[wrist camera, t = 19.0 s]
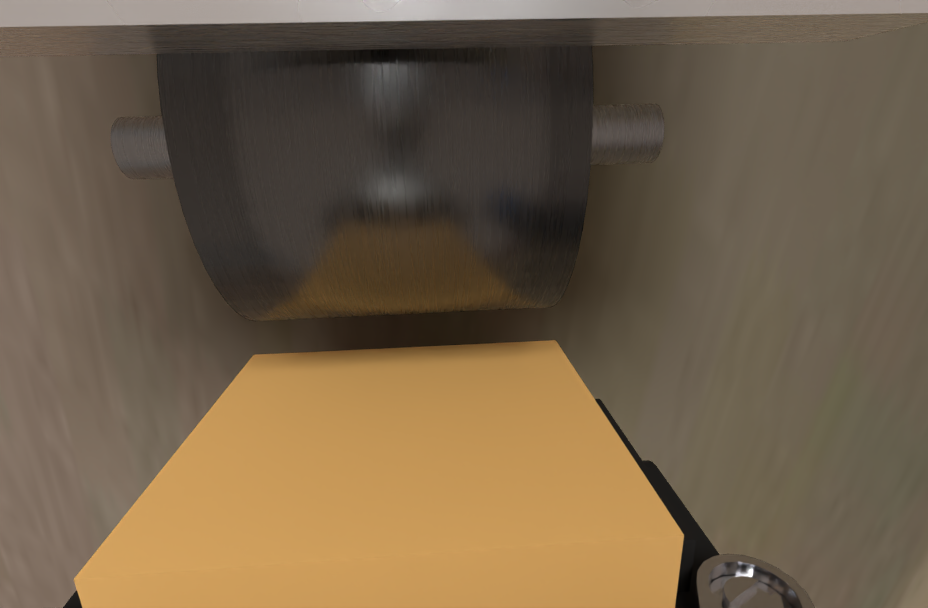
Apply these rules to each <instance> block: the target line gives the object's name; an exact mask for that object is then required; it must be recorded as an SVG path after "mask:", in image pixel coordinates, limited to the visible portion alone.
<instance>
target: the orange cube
mask: <svg viewBox="0 0 928 608" xmlns="http://www.w3.org/2000/svg"><path fill="white" fill-rule="evenodd" d="M683 540H684V534H683V533H682V531H681V530H680V528H679V527H678V525H677V523H676V522H675V520H674V519H673V517H672V516H671V514H670V513H669V511H668V510H667V508H666V507H665V505H664V504H663V502H662V501H661V499H660V498H659V496H658V495H657V493H656V492H655V490H654V489H653V487H652V486H651V484H650V483H649V481H648V480H647V478H646V476H645V475H644V473H643V472H642V470H641V469H640V467H639V466H638V464H637V463H636V461H635V460H634V458H633V457H632V455H631V454H630V452H629V451H628V449H627V448H626V446H625V445H624V443H623V442H622V440H621V439H620V437H619V436H618V434H617V433H616V431H615V429H614V428H613V426H612V425H611V423H610V422H609V420H608V419H607V417H606V416H605V414H604V413H603V411H602V410H601V408H600V407H599V405H598V404H597V402H596V401H595V399H594V398H593V396H592V395H591V393H590V392H589V390H588V389H587V387H586V386H585V384H584V382H583V381H582V379H581V378H580V376H579V375H578V373H577V372H576V370H575V369H574V367H573V366H572V364H571V363H570V361H569V360H568V358H567V357H566V355H565V354H564V352H563V351H562V349H561V348H560V346H559V345H558V343H557V342H556V340H550V341H529V342H508V343H487V344H466V345H446V346H425V347H404V348H383V349H362V350H341V351H320V352H300V353H279V354H258V355H253V356H252V357H251V359H250V360H249V361H248V362H247V364H246V365H245V366H244V367H243V369H242V370H241V371H240V372H239V374H238V375H237V376H236V377H235V379H234V380H233V381H232V382H231V384H230V385H229V386H228V387H227V389H226V390H225V391H224V392H223V394H222V395H221V396H220V397H219V399H218V400H217V401H216V402H215V404H214V405H213V406H212V407H211V409H210V410H209V411H208V412H207V414H206V415H205V416H204V417H203V419H202V420H201V421H200V422H199V424H198V425H197V426H196V427H195V429H194V430H193V431H192V432H191V434H190V435H189V436H188V437H187V439H186V440H185V441H184V442H183V444H182V445H181V446H180V447H179V449H178V450H177V451H176V452H175V454H174V455H173V456H172V457H171V459H170V460H169V461H168V462H167V464H166V465H165V466H164V467H163V469H162V470H161V471H160V472H159V473H158V475H157V476H156V477H155V478H154V480H153V481H152V482H151V483H150V485H149V486H148V487H147V488H146V490H145V491H144V492H143V493H142V495H141V496H140V497H139V498H138V500H137V501H136V502H135V503H134V505H133V506H132V507H131V508H130V510H129V511H128V512H127V513H126V515H125V516H124V517H123V518H122V520H121V521H120V522H119V523H118V525H117V526H116V527H115V528H114V530H113V531H112V532H111V533H110V535H109V536H108V537H107V538H106V540H105V541H104V542H103V543H102V545H101V546H100V547H99V548H98V550H97V551H96V552H95V553H94V555H93V556H92V557H91V558H90V560H89V561H88V562H87V563H86V565H85V566H84V567H83V568H82V570H81V571H80V572H79V573H78V575H77V576H76V577H75V578H74V582H75V585H76V588H77V592H78V595H79V598H80V601H81V605H82V608H675V603H676V595H677V587H678V579H679V571H680V563H681V556H682V548H683Z"/></svg>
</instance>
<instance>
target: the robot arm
mask: <svg viewBox="0 0 928 608" xmlns="http://www.w3.org/2000/svg"><path fill="white" fill-rule="evenodd" d="M595 401H596V402H597V404H598V405H599V407H600V408H601V410H602V411H603V413H604V414H605V416H606V417H607V419H608V420H609V422H610V423H611V425H612V426H613V428H614V429H615V431H616V433H617V434H618V436H619V437H620V439H621V440H622V442H623V443H624V445H625V446H626V448H627V449H628V451H629V452H630V454H631V455H632V457H633V458H634V460H635V461H636V463H637V464H638V466H639V467H640V469H641V470H642V472H643V473H644V475H645V476H646V478H647V480H648V481H649V483H650V484H651V486H652V487H653V489H654V490H655V492H656V493H657V495H658V496H659V498H660V499H661V501H662V502H663V504H664V505H665V507H666V508H667V510H668V511H669V513H670V514H671V516H672V517H673V519H674V520H675V522H676V523H677V525H678V527H679V528H680V530H681V531H682V533H683V534H684V540H683V548H682V556H681V563H680V571H679V579H678V587H677V595H676V603H675V608H815V606H814V604H813V603H812V601H811V599H810V597H809V596H808V594H807V592H806V591H805V590H804V589H803V588H802V587H801V586H800V585H799V584H798V583H797V582H796V581H795V580H794V579H793V578H792V577H790V576H789V575H787V574H786V573H784V572H783V571H782V570H780V569H779V568H777V567H775V566H773V565H771V564H768V563H766V562H764V561H762V560H759V559H756V558H752V557H749V556H745V555H737V554H723V555H719V553H718V552H717V551H716V549H715V548H714V546H713V545H712V544H711V542H710V541H709V539H708V538H707V537H706V535H705V534H704V532H703V531H702V529H701V528H700V527H699V525H698V524H697V522H696V521H695V520H694V518H693V517H692V515H691V514H690V513H689V511H688V510H687V508H686V507H685V506H684V504H683V503H682V501H681V500H680V499H679V497H678V496H677V494H676V493H675V492H674V490H673V489H672V487H671V486H670V485H669V483H668V482H667V480H666V479H665V478H664V476H663V475H662V473H661V472H660V471H659V469H658V468H657V466H656V465H655V464H654V463H653V462H651V461H642V460H641V458H640V457H639V455H638V454H637V452H636V451H635V449H634V448H633V447H632V445H631V444H630V442H629V441H628V439H627V438H626V436H625V435H624V433H623V432H622V430H621V429H620V427H619V426H618V425H617V423H616V422H615V420H614V419H613V417H612V416H611V414H610V413H609V411H608V410H607V408H606V407H605V405H604V404H603V403H602V401H601V400H600V399H595ZM63 608H82V605H81V601H80V598H79V595H78V592H77V590H76V592H75V593H74V594H73V596H72V597H71V598H70V599H69V601H68V602H67V603H66V605H65V606H64V607H63Z"/></svg>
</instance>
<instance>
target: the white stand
mask: <svg viewBox="0 0 928 608" xmlns="http://www.w3.org/2000/svg"><path fill="white" fill-rule="evenodd" d="M927 22H928V0H0V57H7V56H62V55H117V54H157V73H158V85H159V95H160V105H161V114H162V116H148V117H120V118H117V119H116V120H115V121H114V123H113V125H112V129H111V146H112V151H113V154H114V157H115V160H116V162H117V164H118V166H119V168H120V169H121V171H122V172H123V173H124V174H125V175H126V176H127V177H129V178H131V179H157V178H174V182H175V186H176V189H177V193H178V196H179V199H180V203H181V206H182V210H183V213H184V217H185V219H186V222H187V225H188V228H189V231H190V233H191V236H192V239H193V242H194V244H195V247H196V249H197V251H198V253H199V256H200V258H201V260H202V262H203V265H204V267H205V269H206V271H207V272H208V274H209V276H210V278H211V280H212V281H213V283H214V285H215V287H216V288H217V290H218V291H219V292H220V294H221V295H222V297H223V298H224V299H225V301H226V302H227V303H228V304H229V305H230V306H231V307H232V308H233V309H234V310H235V311H236V312H237V313H238V314H240V315H241V316H243V317H244V318H246V319H249V320H252V321H265V320H286V319H307V318H329V317H350V316H371V315H392V314H414V313H435V312H456V311H477V310H499V309H520V308H541V307H552V306H554V305H555V304H557V303H558V301H559V300H560V299H561V298H562V296H563V294H564V292H565V290H566V288H567V286H568V283H569V281H570V278H571V275H572V272H573V269H574V265H575V262H576V258H577V254H578V250H579V245H580V240H581V235H582V230H583V224H584V217H585V210H586V204H587V195H588V186H589V176H590V165H601V164H633V163H652V162H654V161H655V160H656V158H657V157H658V155H659V153H660V150H661V147H662V143H663V138H664V118H663V113H662V110H661V108H660V107H659V105H657V104H630V105H593V60H592V46H610V45H664V44H719V43H774V42H828V41H848V40H853V39H857V38H861V37H866V36H870V35H874V34H879V33H883V32H888V31H892V30H896V29H901V28H905V27H909V26H914V25H918V24H922V23H927Z"/></svg>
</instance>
